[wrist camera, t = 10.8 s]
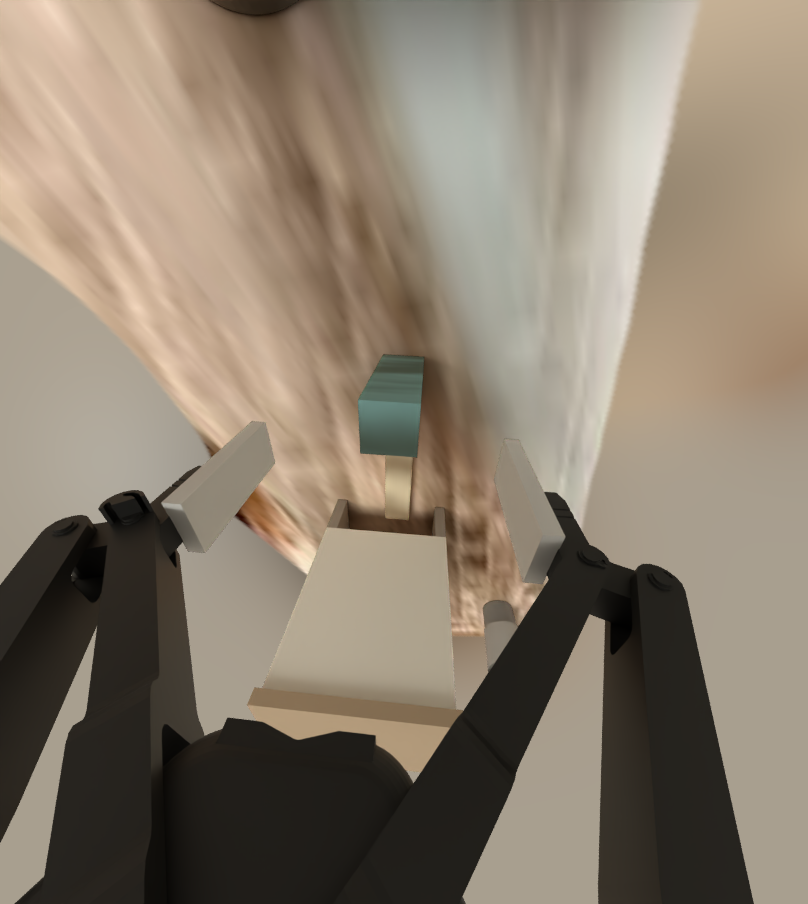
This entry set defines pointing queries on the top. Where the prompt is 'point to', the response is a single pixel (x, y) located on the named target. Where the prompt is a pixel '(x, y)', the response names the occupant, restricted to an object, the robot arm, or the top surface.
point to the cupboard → (368, 644)
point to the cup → (497, 628)
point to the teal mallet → (393, 425)
